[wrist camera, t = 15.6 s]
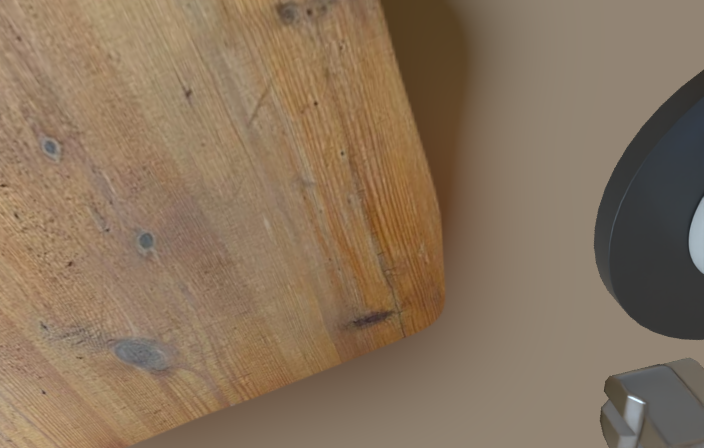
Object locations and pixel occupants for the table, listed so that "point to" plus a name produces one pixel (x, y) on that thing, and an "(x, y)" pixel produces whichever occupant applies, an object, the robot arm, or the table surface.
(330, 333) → the table surface
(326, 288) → the table surface
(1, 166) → the table surface
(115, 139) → the table surface
